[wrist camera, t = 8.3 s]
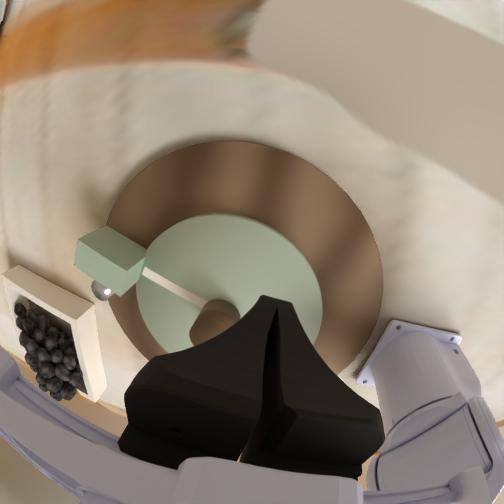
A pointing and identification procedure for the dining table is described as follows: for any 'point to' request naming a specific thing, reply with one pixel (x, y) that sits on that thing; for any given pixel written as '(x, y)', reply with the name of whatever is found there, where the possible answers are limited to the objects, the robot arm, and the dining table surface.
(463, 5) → the dining table surface
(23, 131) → the dining table surface
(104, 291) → the dowel
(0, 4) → the food on plate
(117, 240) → the flange plate
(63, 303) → the fruit frame
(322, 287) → the base board
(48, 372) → the fruit
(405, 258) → the dining table surface
